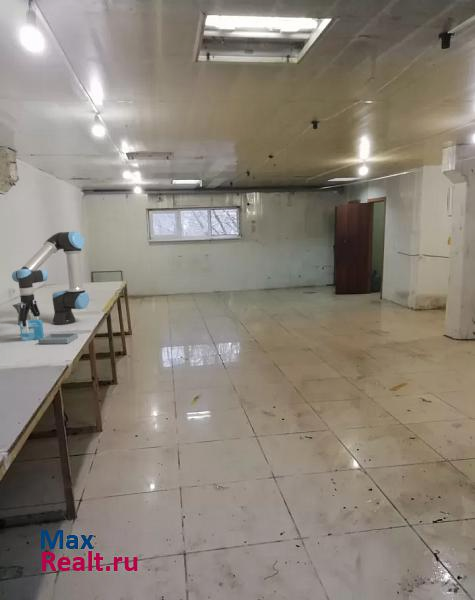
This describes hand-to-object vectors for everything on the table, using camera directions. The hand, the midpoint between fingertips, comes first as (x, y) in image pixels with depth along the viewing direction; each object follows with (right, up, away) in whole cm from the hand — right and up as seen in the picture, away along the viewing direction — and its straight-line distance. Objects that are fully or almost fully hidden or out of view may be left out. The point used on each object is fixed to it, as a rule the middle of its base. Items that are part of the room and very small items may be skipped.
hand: (31, 328), depth 263 cm
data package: (0, -7, +1) cm, 7 cm away
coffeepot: (-27, +1, +47) cm, 54 cm away
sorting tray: (+20, -7, -7) cm, 22 cm away
